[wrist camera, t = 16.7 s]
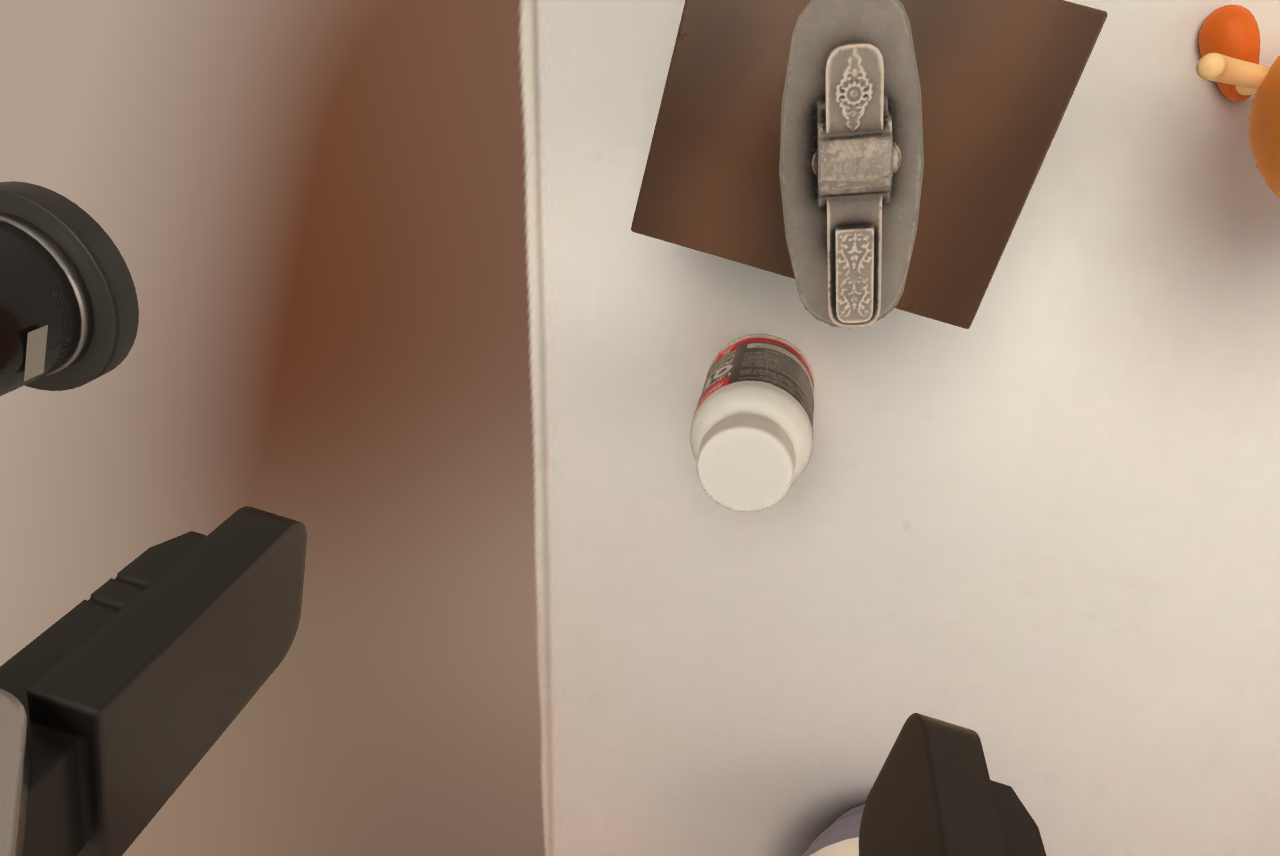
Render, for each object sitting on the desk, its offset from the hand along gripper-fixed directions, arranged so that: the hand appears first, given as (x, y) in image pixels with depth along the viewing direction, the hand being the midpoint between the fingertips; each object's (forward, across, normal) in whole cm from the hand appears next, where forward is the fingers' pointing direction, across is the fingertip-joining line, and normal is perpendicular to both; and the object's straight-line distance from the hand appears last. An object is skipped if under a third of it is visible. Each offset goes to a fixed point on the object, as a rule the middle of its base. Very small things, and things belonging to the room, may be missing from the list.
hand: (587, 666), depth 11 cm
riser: (+33, -3, -5) cm, 34 cm away
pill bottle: (+34, -3, +8) cm, 35 cm away
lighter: (+21, -2, -5) cm, 22 cm away
